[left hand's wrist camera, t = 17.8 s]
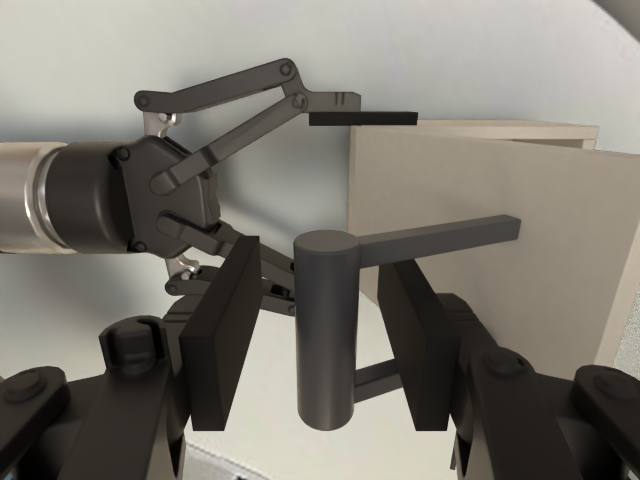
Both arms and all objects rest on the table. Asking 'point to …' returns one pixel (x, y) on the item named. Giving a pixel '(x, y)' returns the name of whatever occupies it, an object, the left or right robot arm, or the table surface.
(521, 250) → the lid
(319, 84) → the table surface
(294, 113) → the right robot arm
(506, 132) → the chest
